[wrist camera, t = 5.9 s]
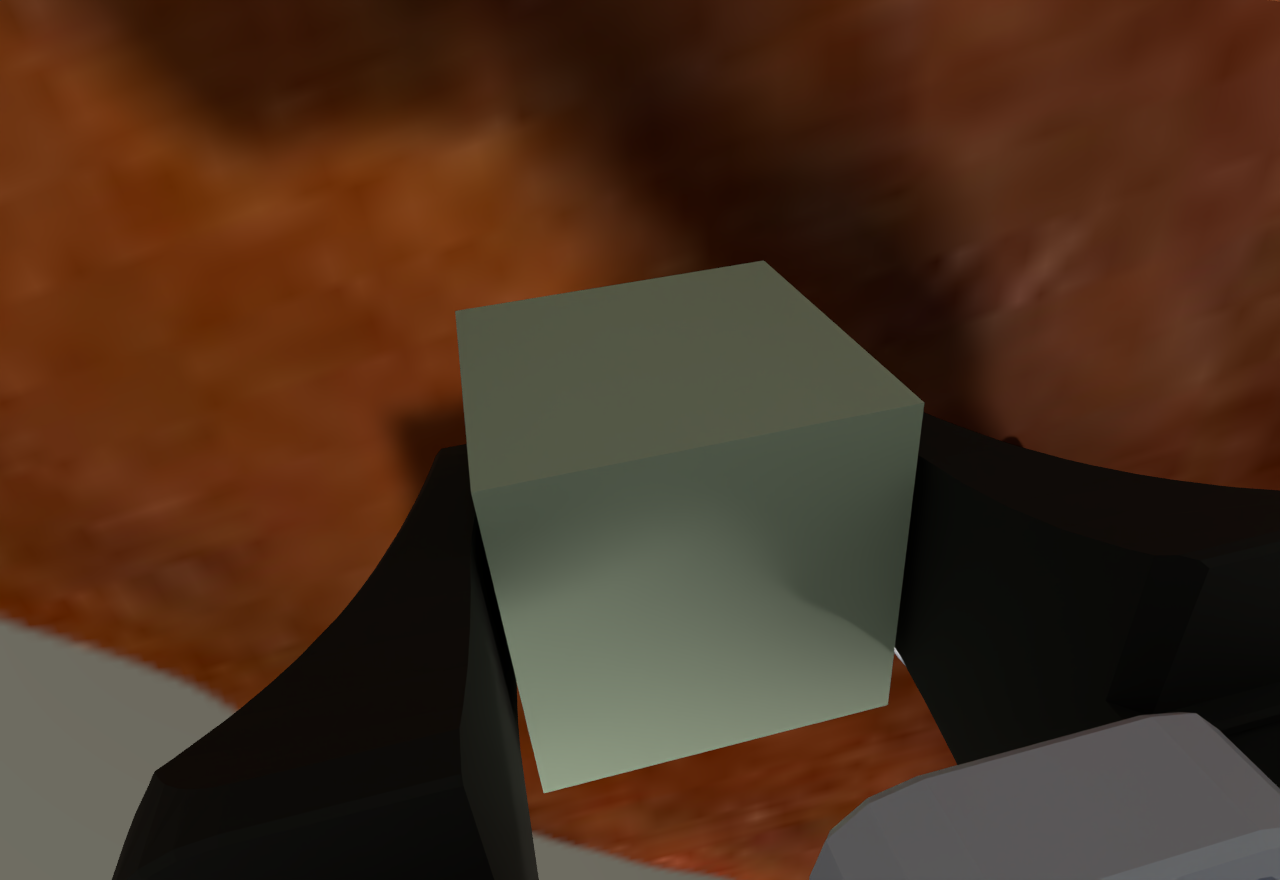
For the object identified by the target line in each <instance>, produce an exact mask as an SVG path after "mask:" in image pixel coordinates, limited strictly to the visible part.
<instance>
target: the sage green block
mask: <svg viewBox="0 0 1280 880" xmlns="http://www.w3.org/2000/svg"><path fill="white" fill-rule="evenodd" d="M455 313H456V324H457V336H458V347H459V359H460V371H461V382H462V394H463V406H464V417H465V429H466V440H467V452H468V464H469V475H470V487H471V495H472V499H473V503H474V507H475V511H476V515H477V519H478V524H479V528H480V532H481V536H482V540H483V544H484V548H485V552H486V557H487V561H488V565H489V569H490V573H491V577H492V581H493V586H494V590H495V594H496V598H497V602H498V606H499V610H500V614H501V619H502V623H503V627H504V631H505V635H506V639H507V643H508V648H509V652H510V656H511V660H512V664H513V668H514V672H515V676H516V681H517V685H518V689H519V693H520V697H521V701H522V705H523V710H524V714H525V718H526V722H527V726H528V730H529V734H530V738H531V743H532V747H533V751H534V755H535V759H536V763H537V767H538V771H539V776H540V780H541V784H542V788H543V792H544V793H547V792H551V791H555V790H558V789H562V788H566V787H570V786H574V785H578V784H582V783H586V782H589V781H593V780H597V779H601V778H605V777H609V776H613V775H617V774H621V773H624V772H628V771H632V770H636V769H640V768H644V767H648V766H652V765H656V764H659V763H663V762H667V761H671V760H675V759H679V758H683V757H687V756H691V755H694V754H698V753H702V752H706V751H710V750H714V749H718V748H722V747H725V746H729V745H733V744H737V743H741V742H745V741H749V740H753V739H757V738H760V737H764V736H768V735H772V734H776V733H780V732H784V731H788V730H792V729H795V728H799V727H803V726H807V725H811V724H815V723H819V722H823V721H826V720H830V719H834V718H838V717H842V716H846V715H850V714H854V713H858V712H861V711H865V710H869V709H873V708H877V707H881V706H885V705H888V698H889V689H890V681H891V673H892V665H893V656H894V648H895V640H896V632H897V624H898V615H899V607H900V599H901V591H902V582H903V574H904V566H905V558H906V549H907V541H908V533H909V525H910V517H911V508H912V500H913V492H914V484H915V475H916V467H917V459H918V451H919V443H920V434H921V426H922V418H923V410H924V402H923V401H922V400H921V399H920V398H919V397H917V396H916V395H915V394H914V393H913V392H912V391H911V390H910V389H908V388H907V387H906V386H905V385H904V384H903V383H902V382H901V381H899V380H898V379H897V378H896V377H895V376H894V375H893V374H891V373H890V372H889V371H888V370H887V369H886V368H885V367H884V366H882V365H881V364H880V363H879V362H878V361H877V360H876V359H875V358H873V357H872V356H871V355H870V354H869V353H868V352H867V351H866V350H864V349H863V348H862V347H861V346H860V345H859V344H858V343H856V342H855V341H854V340H853V339H852V338H851V337H850V336H849V335H847V334H846V333H845V332H844V331H843V330H842V329H841V328H840V327H838V326H837V325H836V324H835V323H834V322H833V321H832V320H830V319H829V318H828V317H827V316H826V315H825V314H824V313H823V312H821V311H820V310H819V309H818V308H817V307H816V306H815V305H814V304H812V303H811V302H810V301H809V300H808V299H807V298H806V297H805V296H803V295H802V294H801V293H800V292H799V291H798V290H797V289H795V288H794V287H793V286H792V285H791V284H790V283H789V282H788V281H786V280H785V279H784V278H783V277H782V276H781V275H780V274H779V273H777V272H776V271H775V270H774V269H773V268H772V267H771V266H770V265H768V264H767V263H766V262H765V261H758V262H752V263H746V264H740V265H733V266H727V267H721V268H715V269H709V270H703V271H697V272H691V273H685V274H679V275H672V276H666V277H660V278H654V279H648V280H642V281H636V282H630V283H624V284H618V285H612V286H605V287H599V288H593V289H587V290H581V291H575V292H569V293H563V294H557V295H551V296H545V297H538V298H532V299H526V300H520V301H514V302H508V303H502V304H496V305H490V306H484V307H478V308H471V309H465V310H459V311H455Z"/></svg>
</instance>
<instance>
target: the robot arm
mask: <svg viewBox="0 0 1280 880" xmlns="http://www.w3.org/2000/svg"><path fill="white" fill-rule="evenodd" d="M894 653H895V654H896V655H897V657H898V658H899V659H900V660H901V661H902V662H903V663H904V665H905V666H906V667H907V669H908V671H909V673H910V675H911V676H912V678H913V680H914V682H915V684H916V686H917V687H918V689H919V691H920V693H921V695H922V697H923V698H924V700H925V702H926V704H927V706H928V708H929V710H930V712H931V714H932V716H933V718H934V719H935V721H936V723H937V725H938V727H939V729H940V731H941V733H942V735H943V737H944V739H945V741H946V743H947V745H948V747H949V749H950V751H951V753H952V755H953V757H954V759H955V761H956V763H957V766H953V767H949V768H946V769H942V770H938V771H935V772H931V773H927V774H924V775H920V776H917V777H914V778H912V779H910V780H908V781H905V782H903V783H901V784H899V785H896V786H894V787H892V788H889V789H887V790H885V791H883V792H880V793H878V794H876V795H874V796H871V797H869V798H867V799H866V800H865V801H864V802H863V803H861V804H860V805H859V806H858V807H857V808H856V809H855V810H853V811H852V812H851V813H850V814H849V815H848V816H846V817H845V818H844V819H843V820H842V821H841V822H839V823H838V824H837V825H836V826H835V827H834V828H833V829H831V830H830V832H829V834H828V837H827V839H826V841H825V843H824V846H823V848H822V850H821V852H820V854H819V857H818V859H817V861H816V863H815V866H814V868H813V870H812V873H811V875H810V880H1280V491H1279V490H1264V489H1250V488H1236V487H1226V486H1218V485H1210V484H1202V483H1194V482H1186V481H1178V480H1170V479H1164V478H1158V477H1151V476H1145V475H1139V474H1133V473H1128V472H1123V471H1118V470H1113V469H1108V468H1103V467H1098V466H1093V465H1088V464H1084V463H1079V462H1075V461H1071V460H1066V459H1062V458H1059V457H1055V456H1051V455H1048V454H1044V453H1040V452H1037V451H1033V450H1029V449H1026V448H1022V447H1019V446H1015V445H1012V444H1009V443H1006V442H1003V441H999V440H996V439H994V438H991V437H988V436H985V435H982V434H979V433H977V432H974V431H971V430H968V429H965V428H962V427H960V426H957V425H954V424H952V423H949V422H947V421H944V420H941V419H939V418H936V417H934V416H931V415H929V414H926V413H924V412H923V418H922V426H921V434H920V443H919V451H918V459H917V467H916V475H915V484H914V492H913V500H912V508H911V517H910V525H909V533H908V541H907V549H906V558H905V566H904V574H903V582H902V591H901V599H900V607H899V615H898V624H897V632H896V640H895V648H894ZM112 880H539V879H538V872H537V865H536V858H535V851H534V844H533V837H532V830H531V823H530V816H529V809H528V802H527V795H526V788H525V781H524V773H523V766H522V759H521V752H520V741H519V729H518V711H517V683H516V676H515V672H514V668H513V664H512V660H511V656H510V652H509V648H508V643H507V639H506V635H505V631H504V627H503V623H502V619H501V614H500V610H499V606H498V602H497V598H496V594H495V590H494V586H493V581H492V577H491V573H490V569H489V565H488V561H487V557H486V552H485V548H484V544H483V540H482V536H481V532H480V528H479V524H478V519H477V515H476V511H475V507H474V503H473V499H472V495H471V487H470V475H469V464H468V452H467V444H464V445H459V446H453V447H448V448H443V449H441V450H440V451H439V453H438V454H437V455H436V457H435V459H434V462H433V465H432V467H431V469H430V472H429V474H428V476H427V479H426V481H425V483H424V485H423V487H422V489H421V491H420V493H419V495H418V497H417V499H416V501H415V503H414V505H413V507H412V509H411V511H410V512H409V514H408V516H407V518H406V520H405V522H404V523H403V525H402V527H401V529H400V531H399V532H398V534H397V536H396V537H395V539H394V540H393V542H392V543H391V545H390V547H389V548H388V550H387V551H386V553H385V554H384V556H383V558H382V559H381V561H380V562H379V564H378V565H377V567H376V568H375V570H374V571H373V573H372V574H371V575H370V577H369V578H368V580H367V581H366V582H365V584H364V585H363V586H362V588H361V589H360V590H359V592H358V593H357V594H356V596H355V597H354V598H353V599H352V601H351V602H350V603H349V604H348V605H347V607H346V608H345V609H344V610H343V612H342V613H341V614H340V615H339V616H338V617H337V619H336V620H335V621H334V622H333V623H332V624H331V625H330V626H329V627H328V628H327V629H326V630H325V631H324V632H323V633H322V634H321V635H320V636H319V637H318V638H317V639H316V640H315V641H314V642H313V643H312V644H311V645H310V646H309V647H308V649H307V650H306V651H305V652H304V653H303V654H302V655H301V656H300V657H299V658H298V659H297V660H296V661H295V662H294V663H292V664H291V665H290V666H289V667H288V668H287V669H286V670H285V671H284V672H283V673H281V674H280V675H279V676H278V677H277V678H276V679H275V680H274V681H273V682H271V683H270V684H269V685H268V686H267V687H266V688H264V689H263V690H262V691H261V692H260V693H259V694H257V695H256V696H255V697H254V698H253V699H251V700H250V701H249V702H248V703H247V704H245V705H244V706H243V707H242V708H241V709H239V710H238V711H237V712H236V713H234V714H233V715H232V716H230V717H229V718H228V719H227V720H225V721H224V722H223V723H221V724H220V725H219V726H217V727H216V728H214V729H213V730H212V731H210V733H208V734H206V735H205V736H204V737H202V738H201V739H200V740H198V741H197V742H195V743H194V744H193V745H191V746H190V747H189V748H187V749H186V750H184V751H183V752H182V753H181V754H179V755H178V756H176V757H175V758H174V759H172V760H171V761H169V762H168V763H166V764H165V765H164V766H162V767H160V768H159V769H158V770H156V771H155V772H154V774H153V776H152V779H151V781H150V784H149V786H148V788H147V790H146V792H145V794H144V797H143V799H142V801H141V803H140V805H139V807H138V809H137V811H136V814H135V816H134V819H133V821H132V824H131V826H130V829H129V832H128V835H127V837H126V840H125V842H124V845H123V849H122V851H121V854H120V857H119V860H118V863H117V866H116V870H115V872H114V875H113V878H112Z"/></svg>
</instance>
